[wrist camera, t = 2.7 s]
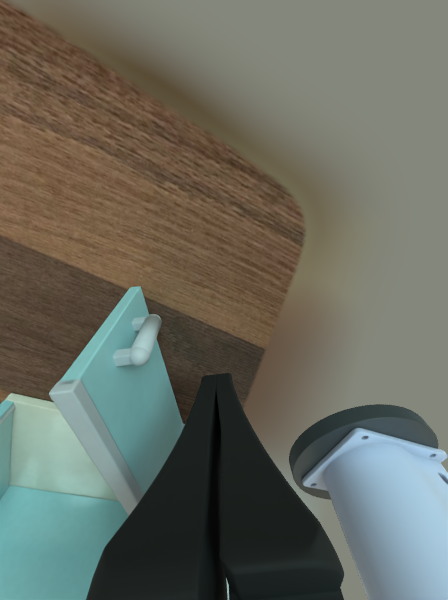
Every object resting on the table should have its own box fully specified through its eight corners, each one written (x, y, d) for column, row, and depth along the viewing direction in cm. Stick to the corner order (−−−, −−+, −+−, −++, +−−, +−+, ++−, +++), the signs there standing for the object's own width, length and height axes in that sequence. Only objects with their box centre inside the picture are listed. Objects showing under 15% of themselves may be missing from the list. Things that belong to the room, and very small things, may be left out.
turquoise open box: (187, 423, 19) (173, 559, 12) (145, 500, 24) (119, 624, 18) (9, 382, 16) (-135, 528, 10) (6, 479, 22) (-88, 617, 15)
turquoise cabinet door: (199, 422, 18) (192, 552, 12) (175, 425, 18) (154, 556, 12) (164, 282, 13) (116, 385, 7) (129, 287, 13) (47, 394, 7)
